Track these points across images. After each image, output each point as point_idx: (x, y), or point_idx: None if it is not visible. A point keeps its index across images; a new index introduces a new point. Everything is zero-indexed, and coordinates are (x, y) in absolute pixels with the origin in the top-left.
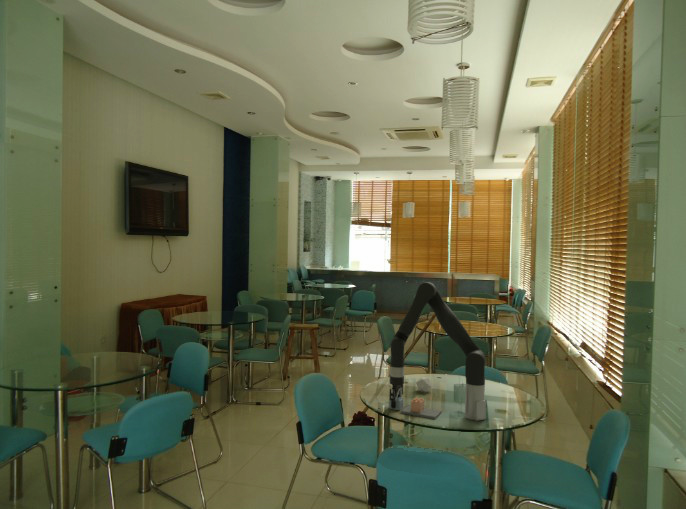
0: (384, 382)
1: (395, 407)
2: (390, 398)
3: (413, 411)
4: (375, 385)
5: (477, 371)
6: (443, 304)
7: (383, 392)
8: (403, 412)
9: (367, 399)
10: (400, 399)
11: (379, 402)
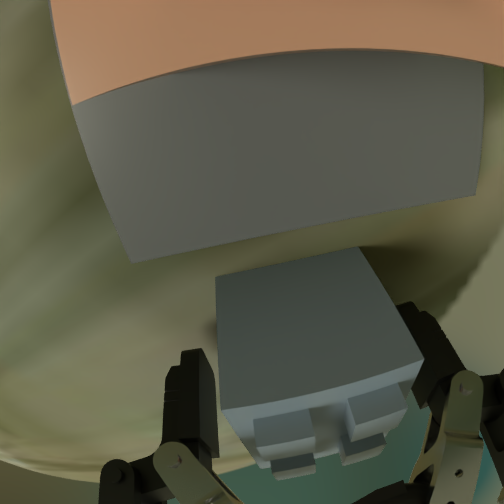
0: (7, 457)
1: (401, 307)
2: (499, 414)
3: None
4: (55, 473)
5: None
6: None
7: (73, 457)
8: (470, 149)
9: (243, 465)
10: (329, 402)
11: None
